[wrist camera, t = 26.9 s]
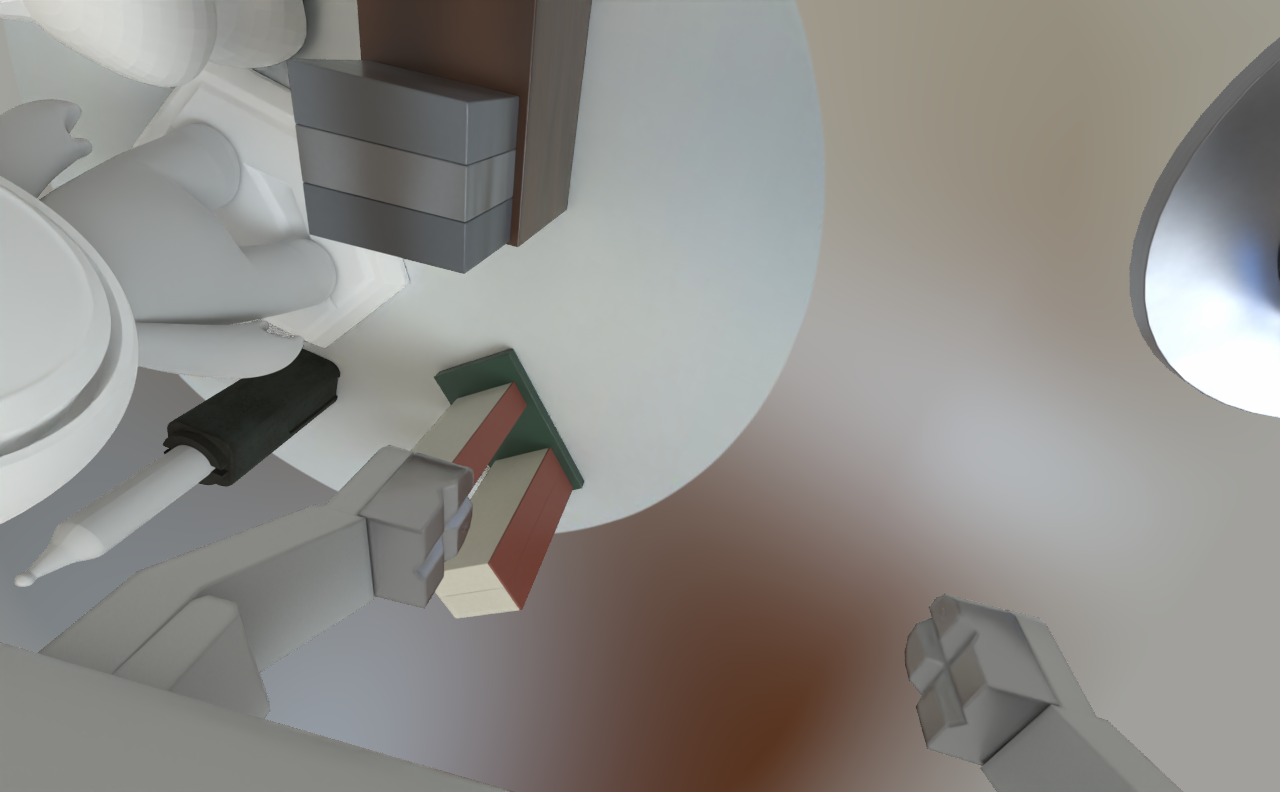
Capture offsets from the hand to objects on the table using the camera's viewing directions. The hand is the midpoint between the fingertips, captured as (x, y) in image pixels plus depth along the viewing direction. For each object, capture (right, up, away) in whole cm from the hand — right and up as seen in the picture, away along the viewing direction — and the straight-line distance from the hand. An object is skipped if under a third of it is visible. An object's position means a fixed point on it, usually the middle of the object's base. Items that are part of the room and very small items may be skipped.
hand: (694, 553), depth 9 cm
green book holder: (-13, 0, +42) cm, 44 cm away
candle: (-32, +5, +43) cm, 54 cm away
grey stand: (-9, +24, +26) cm, 37 cm away
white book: (-14, +2, +39) cm, 42 cm away
